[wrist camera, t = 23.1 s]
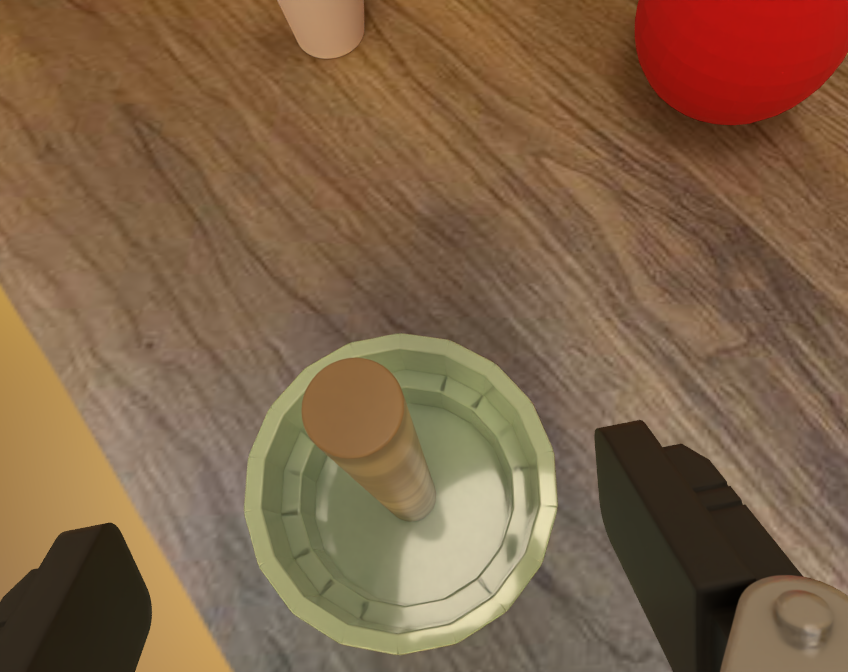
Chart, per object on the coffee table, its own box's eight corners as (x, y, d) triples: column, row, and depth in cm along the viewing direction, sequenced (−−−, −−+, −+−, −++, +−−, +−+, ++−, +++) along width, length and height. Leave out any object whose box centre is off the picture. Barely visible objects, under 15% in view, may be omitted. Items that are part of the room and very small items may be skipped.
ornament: (669, -9, 36) (741, -218, 27) (833, 63, 34) (975, -136, 24) (582, 111, 34) (627, -70, 24) (752, 196, 32) (872, 34, 22)
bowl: (567, 608, 26) (595, 616, 20) (303, 660, 26) (258, 683, 20) (508, 360, 30) (518, 309, 24) (275, 405, 30) (229, 365, 24)
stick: (431, 466, 27) (395, 347, 13) (440, 516, 27) (412, 447, 13) (382, 475, 27) (294, 367, 13) (390, 526, 27) (307, 467, 13)
